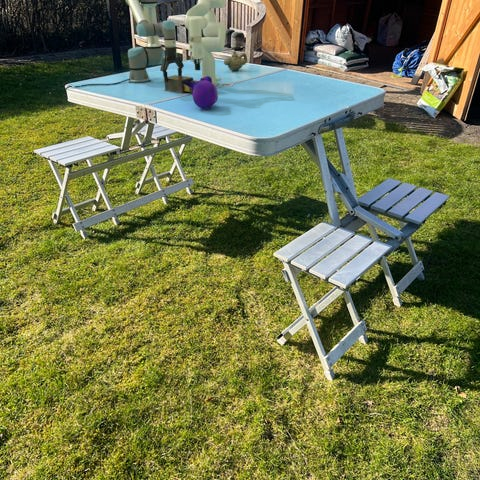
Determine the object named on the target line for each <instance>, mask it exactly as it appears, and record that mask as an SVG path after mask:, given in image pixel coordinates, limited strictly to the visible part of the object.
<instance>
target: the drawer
mask: <svg viewBox="0 0 480 480" xmlns="http://www.w3.org/2000/svg"><path fill="white" fill-rule="evenodd" d="M187 81H193V82H199V81H200V79H199V80H196V79H193V80H187ZM183 90H184V91H188V92H187V93H190V94H193V90H194V89H192V88H191V87H189V86H187V85H185V84H183Z"/></svg>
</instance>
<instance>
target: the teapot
mask: <svg viewBox="0 0 480 480" xmlns="http://www.w3.org/2000/svg"><path fill="white" fill-rule="evenodd" d="M242 58H243V60H242ZM247 63H248V56H247V53H246V52H242V53H240V54H238V53H237V52H236V50H233V53H232V54H231V57H226V58H225V59H224V60H223V64H224V65H225V66H227V67H228V69H229V71H231V72H237V71H240V69H242V68H243V66H244V65H246V64H247Z"/></svg>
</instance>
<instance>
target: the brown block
mask: <svg viewBox="0 0 480 480" xmlns="http://www.w3.org/2000/svg"><path fill="white" fill-rule="evenodd" d="M187 80H194V77H191V76H185V75H182V76H178V74H173V75H168V82H165V81H164V80H163V81H164V91H167V92H173V93H178V94H185V93H189V92H188V91H184V90H183V83H181V82H182V81H187Z"/></svg>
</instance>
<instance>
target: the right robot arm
mask: <svg viewBox="0 0 480 480" xmlns="http://www.w3.org/2000/svg"><path fill="white" fill-rule="evenodd" d="M226 2H227V1H226V0H197V1H196V4H195V5H193V6H192V7H191V8H189V9H188V10H187V12H186V14H185V18H184V26H185V29H187V30H188V32H189V33H188V35H189V45H188V46H189V47H188V49H189V50H188V51H189V52H188V54H189V59H190V62H193V64H194V70H195V71H201V78H204V77H206V76H209V77H211V79H212V83H213V84H214V85H215V86H219V82H220V81H222V78H221V77H217V75H216V59H215V56H214V55H213V53H222V52H223V51H224V50H225V45H226V44H225V43H226V34H227V28H226V24H225V23H224V22H221V21H217V16H216V13H215V12H214V11H213V9H223V8H225V6H226ZM202 34H203V36H202Z"/></svg>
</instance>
